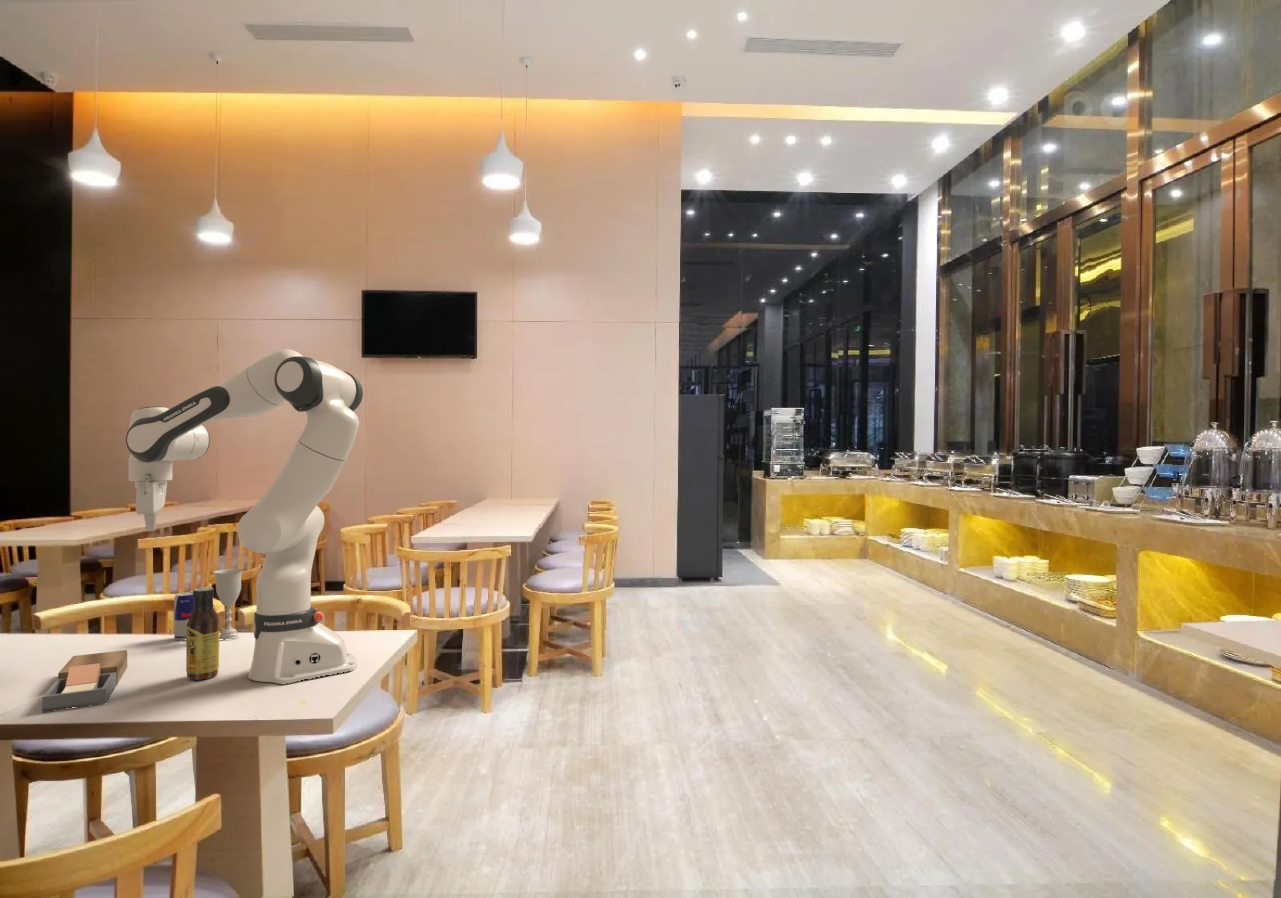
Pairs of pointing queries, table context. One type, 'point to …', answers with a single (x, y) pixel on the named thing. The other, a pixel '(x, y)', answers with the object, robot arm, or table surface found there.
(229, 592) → the chalice
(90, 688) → the cream block
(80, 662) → the walnut board
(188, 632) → the sauce bottle
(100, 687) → the charcoal tray
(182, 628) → the energy drink
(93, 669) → the peach rectangular prism
